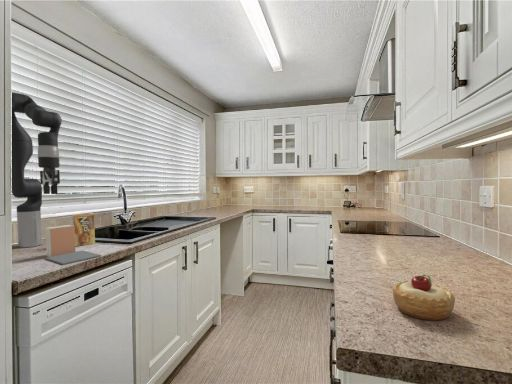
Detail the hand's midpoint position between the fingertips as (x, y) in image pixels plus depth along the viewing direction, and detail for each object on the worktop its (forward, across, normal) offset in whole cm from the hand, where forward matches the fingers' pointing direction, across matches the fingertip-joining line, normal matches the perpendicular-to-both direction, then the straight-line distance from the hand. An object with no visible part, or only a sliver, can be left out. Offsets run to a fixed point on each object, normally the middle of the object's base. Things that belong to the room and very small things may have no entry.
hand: (50, 193), depth 124 cm
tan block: (+26, +8, 0) cm, 27 cm away
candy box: (+26, -4, +15) cm, 31 cm away
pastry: (+27, +141, +20) cm, 145 cm away
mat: (+26, +19, 0) cm, 32 cm away
